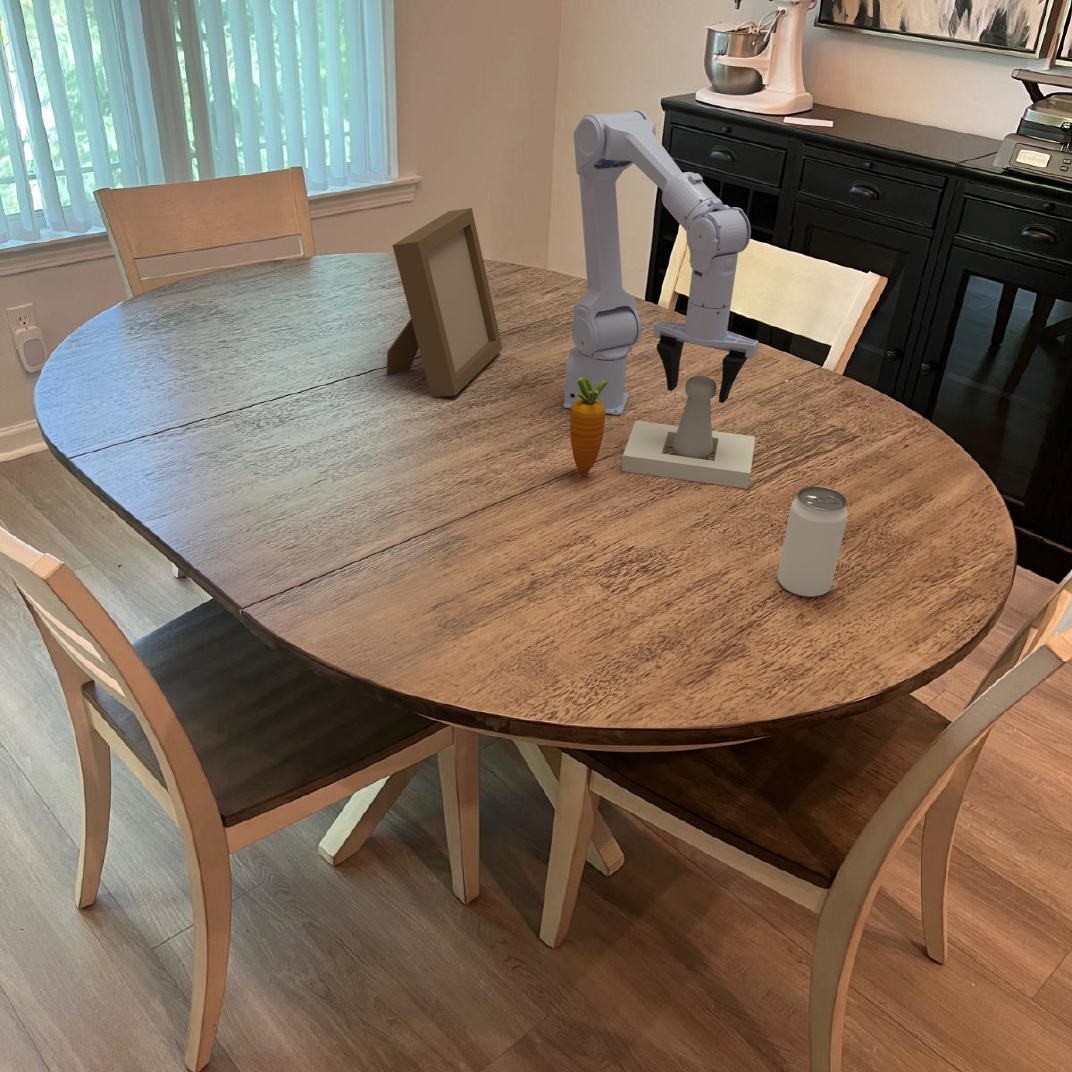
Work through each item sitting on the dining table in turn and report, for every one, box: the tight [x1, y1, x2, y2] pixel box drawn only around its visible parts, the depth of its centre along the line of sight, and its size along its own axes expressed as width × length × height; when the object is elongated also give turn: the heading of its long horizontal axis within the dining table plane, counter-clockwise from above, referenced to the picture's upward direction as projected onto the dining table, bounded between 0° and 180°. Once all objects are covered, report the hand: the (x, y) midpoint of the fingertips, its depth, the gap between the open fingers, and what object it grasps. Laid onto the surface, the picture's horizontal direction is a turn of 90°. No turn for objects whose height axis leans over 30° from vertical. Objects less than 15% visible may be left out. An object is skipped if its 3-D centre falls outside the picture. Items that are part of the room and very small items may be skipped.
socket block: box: [621, 420, 756, 490], centre depth 151 cm, size 18×12×2 cm, turn 77°
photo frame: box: [385, 207, 503, 398], centre depth 170 cm, size 15×22×25 cm
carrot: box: [569, 377, 607, 477], centre depth 142 cm, size 5×5×15 cm
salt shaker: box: [672, 375, 717, 460], centre depth 148 cm, size 6×6×13 cm
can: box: [777, 485, 848, 598], centre depth 122 cm, size 6×6×12 cm
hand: (697, 394), depth 146 cm, fingers open, 7 cm apart
